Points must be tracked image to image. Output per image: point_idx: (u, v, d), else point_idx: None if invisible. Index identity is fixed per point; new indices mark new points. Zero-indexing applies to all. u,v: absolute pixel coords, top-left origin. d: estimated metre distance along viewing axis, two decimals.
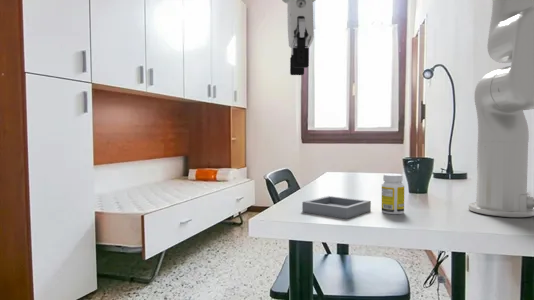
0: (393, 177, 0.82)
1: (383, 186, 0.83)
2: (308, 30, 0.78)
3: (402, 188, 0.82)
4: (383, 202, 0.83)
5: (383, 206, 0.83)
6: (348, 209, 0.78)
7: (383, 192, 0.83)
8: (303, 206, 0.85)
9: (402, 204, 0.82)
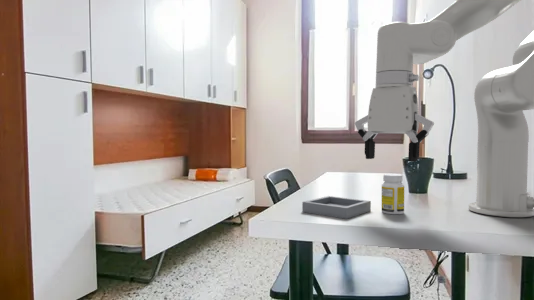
0: (393, 177, 0.82)
1: (383, 186, 0.83)
2: (417, 126, 0.81)
3: (402, 188, 0.82)
4: (383, 202, 0.83)
5: (383, 206, 0.83)
6: (348, 209, 0.78)
7: (383, 192, 0.83)
8: (303, 206, 0.85)
9: (402, 204, 0.82)
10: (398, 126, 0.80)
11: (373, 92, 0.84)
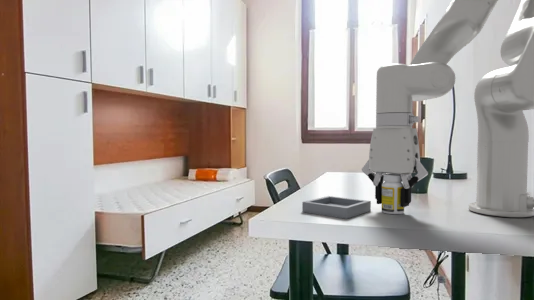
0: (393, 177, 0.82)
1: (383, 186, 0.83)
2: None
3: None
4: (383, 202, 0.83)
5: (383, 206, 0.83)
6: (348, 209, 0.78)
7: (383, 192, 0.83)
8: (303, 206, 0.85)
9: None
10: (399, 167, 0.81)
11: (374, 132, 0.84)
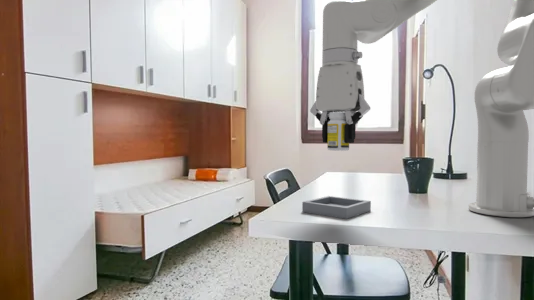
0: (337, 113, 0.83)
1: (328, 123, 0.84)
2: None
3: None
4: (328, 139, 0.84)
5: (328, 143, 0.84)
6: (348, 209, 0.78)
7: (328, 129, 0.84)
8: (303, 206, 0.85)
9: None
10: (343, 103, 0.81)
11: (320, 71, 0.85)
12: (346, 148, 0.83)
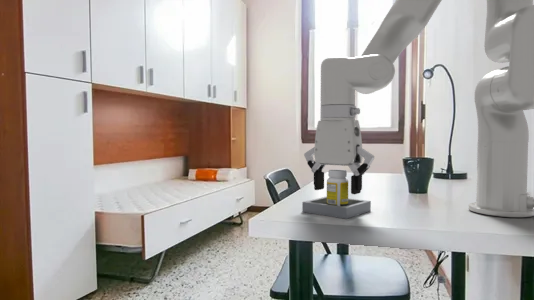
0: (336, 172, 0.83)
1: (327, 181, 0.85)
2: (361, 157, 0.83)
3: (345, 183, 0.83)
4: (327, 197, 0.85)
5: (327, 201, 0.85)
6: (348, 209, 0.78)
7: (327, 187, 0.85)
8: (303, 206, 0.85)
9: (345, 199, 0.83)
10: (341, 159, 0.82)
11: (318, 124, 0.85)
12: None
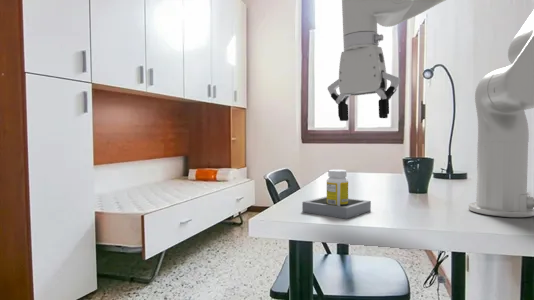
0: (336, 173, 0.83)
1: (327, 181, 0.84)
2: (386, 84, 0.85)
3: (345, 183, 0.83)
4: (327, 197, 0.85)
5: (327, 201, 0.85)
6: (348, 209, 0.78)
7: (327, 187, 0.85)
8: (303, 206, 0.85)
9: (345, 199, 0.83)
10: (367, 85, 0.84)
11: (342, 55, 0.87)
12: None
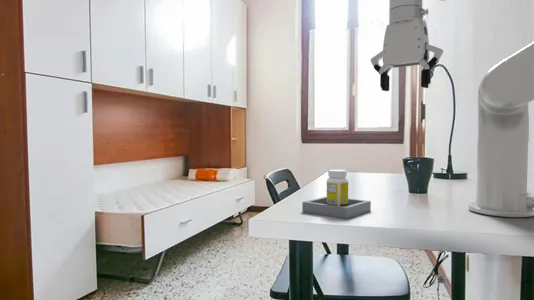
0: (336, 172, 0.83)
1: (327, 181, 0.85)
2: (428, 56, 0.90)
3: (345, 183, 0.83)
4: (327, 197, 0.85)
5: (327, 201, 0.85)
6: (348, 209, 0.78)
7: (327, 187, 0.85)
8: (303, 206, 0.85)
9: (345, 199, 0.83)
10: (411, 56, 0.89)
11: (387, 28, 0.93)
12: None
